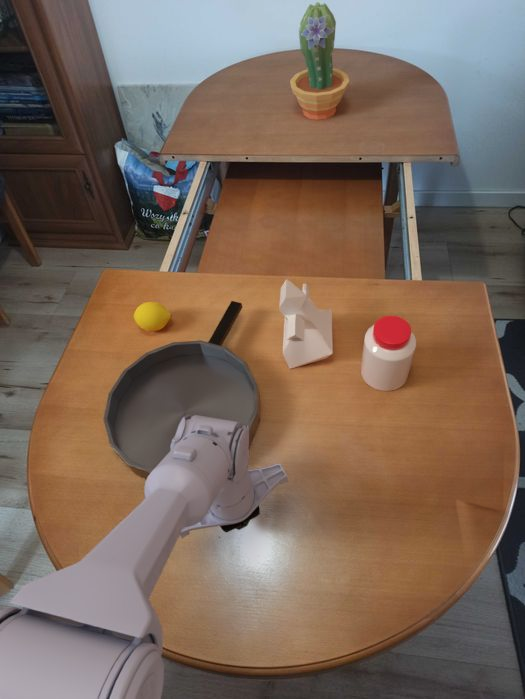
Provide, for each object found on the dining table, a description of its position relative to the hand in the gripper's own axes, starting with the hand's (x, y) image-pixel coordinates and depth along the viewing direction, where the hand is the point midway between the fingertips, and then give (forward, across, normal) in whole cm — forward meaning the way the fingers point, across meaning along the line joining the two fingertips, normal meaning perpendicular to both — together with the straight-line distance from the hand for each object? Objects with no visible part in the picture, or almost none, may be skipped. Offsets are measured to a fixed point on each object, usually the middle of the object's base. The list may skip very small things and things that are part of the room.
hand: (240, 521), depth 67 cm
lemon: (+2, -2, -41) cm, 41 cm away
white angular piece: (+2, -24, -23) cm, 34 cm away
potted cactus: (+2, -67, -90) cm, 112 cm away
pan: (+2, -4, -24) cm, 24 cm away
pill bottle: (+2, -32, -11) cm, 34 cm away
